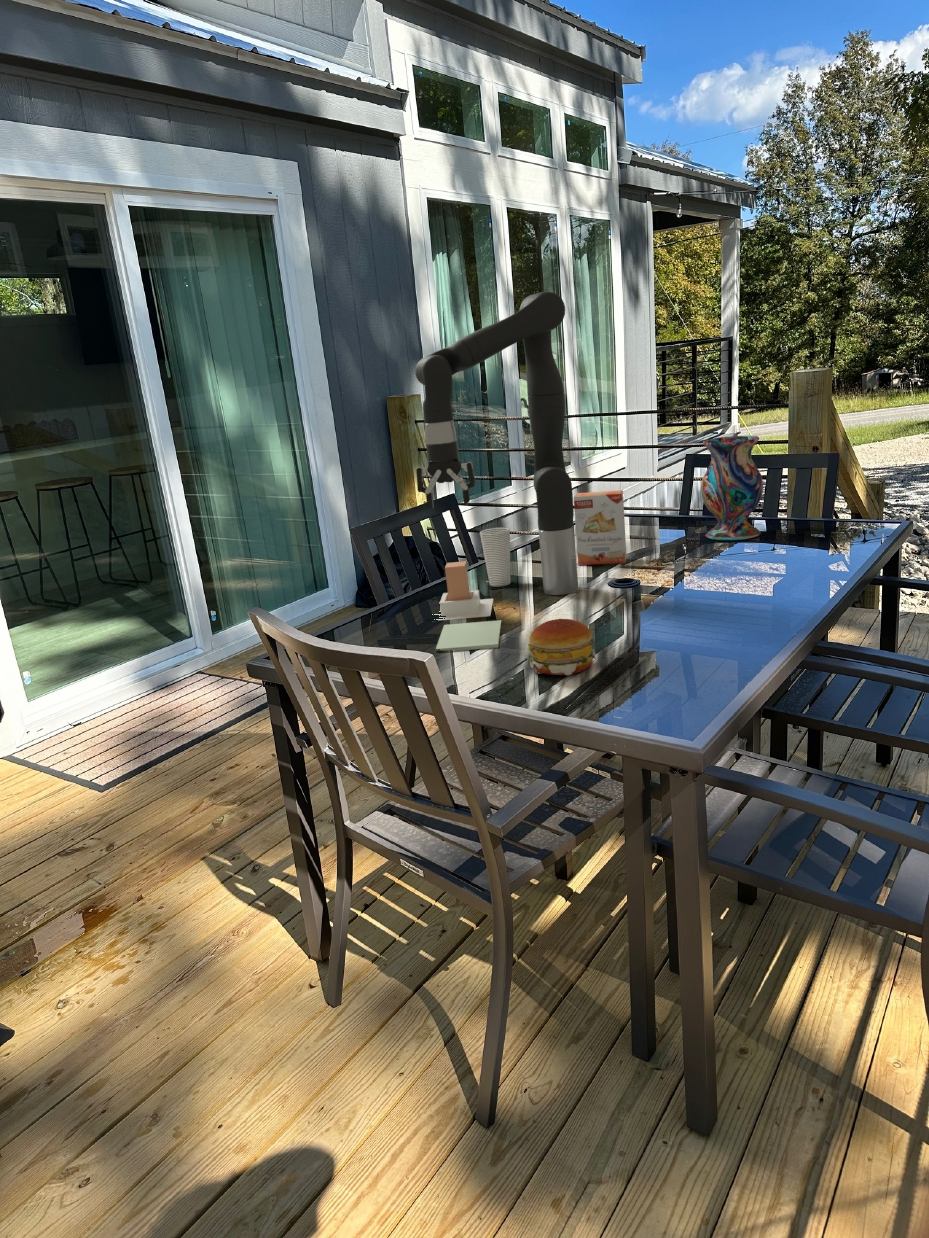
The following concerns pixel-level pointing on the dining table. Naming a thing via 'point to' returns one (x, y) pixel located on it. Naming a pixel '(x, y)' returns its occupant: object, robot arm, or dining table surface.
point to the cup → (497, 555)
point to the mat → (470, 636)
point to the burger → (561, 647)
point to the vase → (732, 487)
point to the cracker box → (600, 527)
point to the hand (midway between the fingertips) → (449, 506)
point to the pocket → (465, 607)
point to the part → (457, 581)
